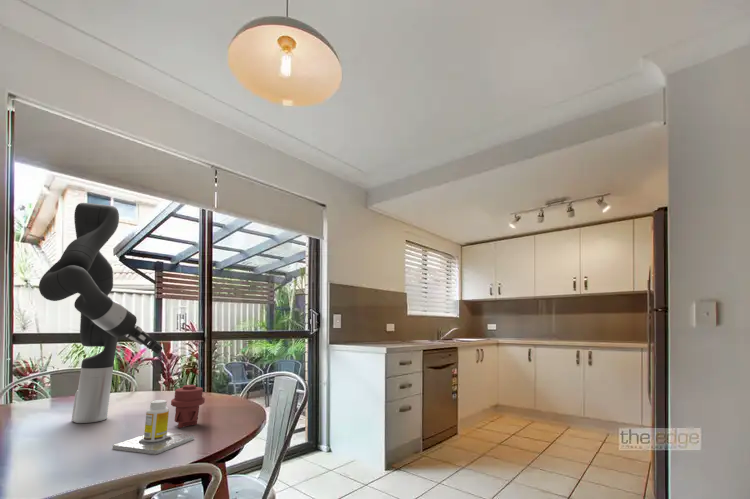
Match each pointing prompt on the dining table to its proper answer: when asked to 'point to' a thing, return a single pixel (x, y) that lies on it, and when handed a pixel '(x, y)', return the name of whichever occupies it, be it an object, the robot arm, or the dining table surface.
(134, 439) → the seat plate
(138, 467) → the dining table surface
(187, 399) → the mechanical component
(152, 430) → the supplement bottle
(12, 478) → the dining table surface
